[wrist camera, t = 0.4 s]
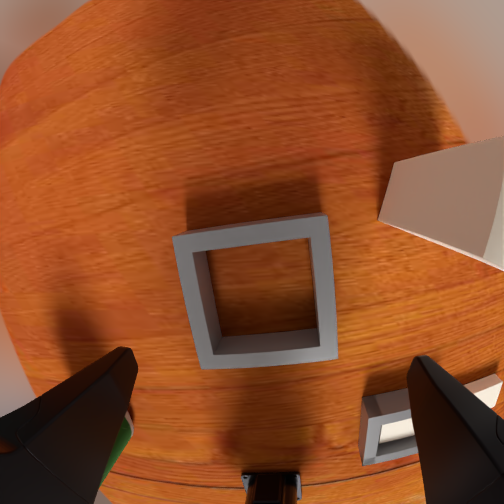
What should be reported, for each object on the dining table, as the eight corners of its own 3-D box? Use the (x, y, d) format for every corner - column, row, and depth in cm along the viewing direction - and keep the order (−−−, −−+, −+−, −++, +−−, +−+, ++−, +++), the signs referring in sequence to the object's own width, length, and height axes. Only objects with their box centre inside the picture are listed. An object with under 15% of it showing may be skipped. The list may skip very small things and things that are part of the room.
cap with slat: (483, 409, 22) (494, 424, 19) (358, 445, 24) (362, 465, 21) (498, 359, 21) (512, 373, 18) (362, 397, 23) (368, 418, 20)
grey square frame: (332, 339, 22) (338, 358, 19) (210, 350, 24) (201, 369, 21) (321, 212, 21) (327, 215, 18) (186, 230, 22) (172, 236, 19)
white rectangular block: (426, 239, 20) (544, 290, 7) (377, 220, 20) (482, 257, 8) (442, 184, 19) (568, 187, 6) (394, 162, 19) (509, 134, 7)
